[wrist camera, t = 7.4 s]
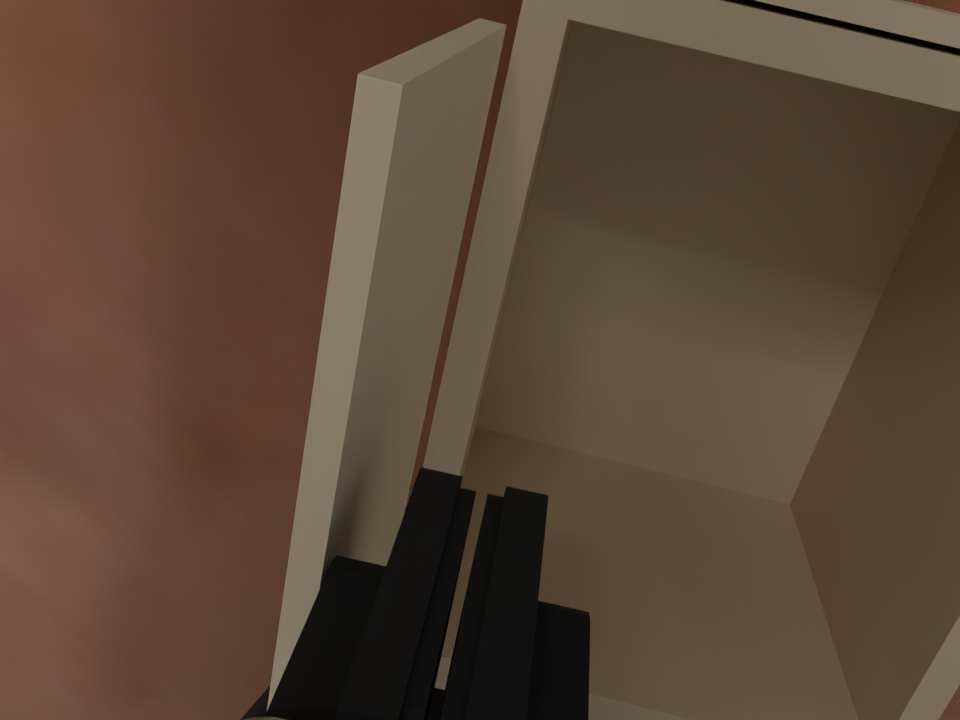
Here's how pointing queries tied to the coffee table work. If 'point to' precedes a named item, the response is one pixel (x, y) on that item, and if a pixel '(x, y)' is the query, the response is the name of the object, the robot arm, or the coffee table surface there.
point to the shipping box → (725, 350)
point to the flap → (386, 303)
